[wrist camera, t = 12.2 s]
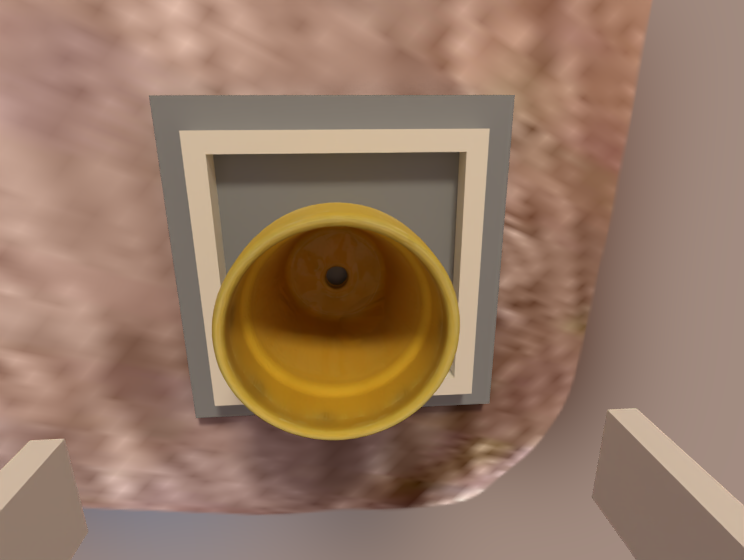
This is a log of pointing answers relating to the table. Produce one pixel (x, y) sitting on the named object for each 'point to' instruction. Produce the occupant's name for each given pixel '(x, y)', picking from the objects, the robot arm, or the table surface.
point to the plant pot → (335, 323)
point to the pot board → (335, 200)
